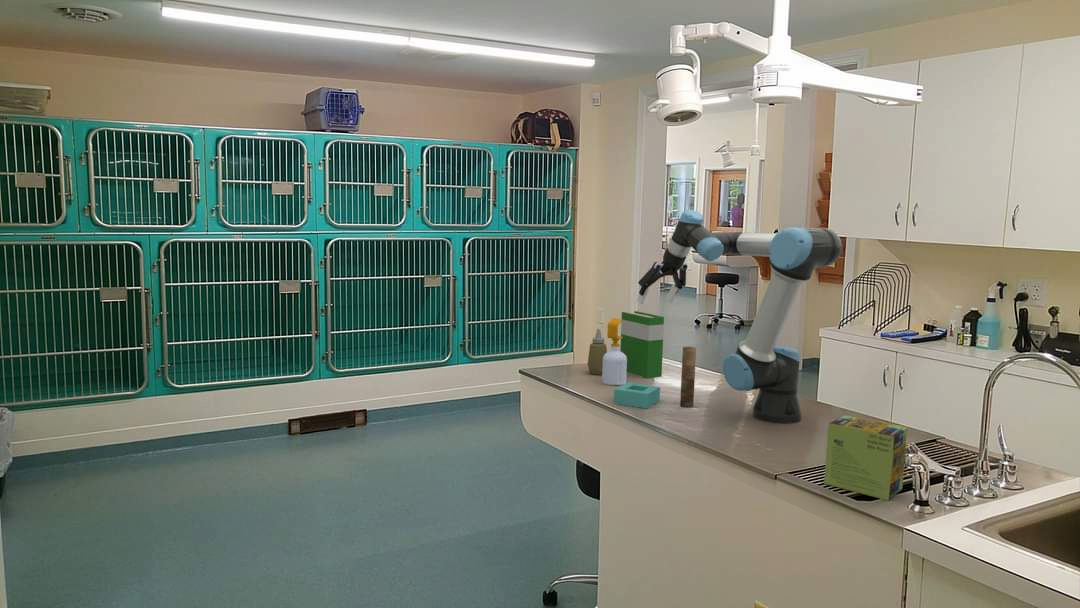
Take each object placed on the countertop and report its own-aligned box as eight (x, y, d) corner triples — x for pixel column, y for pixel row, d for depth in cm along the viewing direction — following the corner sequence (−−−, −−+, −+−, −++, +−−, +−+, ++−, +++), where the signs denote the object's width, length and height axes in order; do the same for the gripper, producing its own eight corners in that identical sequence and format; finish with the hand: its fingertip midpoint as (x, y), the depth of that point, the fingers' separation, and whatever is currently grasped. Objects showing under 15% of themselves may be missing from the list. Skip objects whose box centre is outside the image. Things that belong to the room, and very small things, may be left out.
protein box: (889, 501, 172) (895, 436, 170) (823, 484, 182) (827, 422, 180) (903, 489, 180) (908, 426, 178) (838, 473, 190) (843, 414, 188)
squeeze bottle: (607, 372, 302) (608, 328, 300) (607, 376, 294) (608, 331, 292) (587, 371, 303) (588, 327, 300) (586, 375, 295) (588, 330, 292)
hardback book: (619, 369, 307) (621, 312, 304) (633, 368, 311) (636, 311, 307) (646, 378, 292) (649, 318, 289) (661, 376, 296) (664, 316, 292)
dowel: (695, 405, 253) (697, 347, 250) (691, 408, 249) (693, 349, 246) (682, 403, 255) (685, 346, 252) (678, 406, 251) (681, 348, 249)
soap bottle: (629, 382, 284) (632, 318, 281) (619, 387, 277) (621, 321, 274) (609, 379, 289) (611, 316, 286) (597, 383, 282) (599, 319, 278)
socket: (659, 401, 258) (660, 386, 257) (647, 408, 247) (647, 394, 247) (627, 396, 263) (627, 382, 263) (613, 403, 253) (614, 389, 252)
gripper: (697, 246, 267) (674, 294, 278) (642, 245, 254) (621, 296, 265) (709, 258, 262) (686, 306, 273) (654, 257, 249) (632, 308, 260)
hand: (654, 301), depth 269 cm, fingers open, 13 cm apart
